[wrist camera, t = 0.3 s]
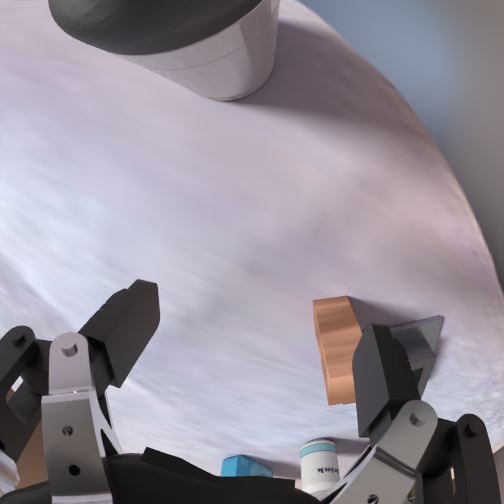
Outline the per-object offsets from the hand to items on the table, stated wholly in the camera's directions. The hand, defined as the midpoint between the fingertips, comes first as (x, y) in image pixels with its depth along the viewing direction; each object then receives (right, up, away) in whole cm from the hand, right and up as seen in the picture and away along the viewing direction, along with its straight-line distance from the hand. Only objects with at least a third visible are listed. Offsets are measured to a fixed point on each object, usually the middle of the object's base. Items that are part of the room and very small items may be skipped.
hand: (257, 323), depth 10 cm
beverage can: (+12, -35, +35) cm, 51 cm away
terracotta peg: (+9, -4, +22) cm, 24 cm away
